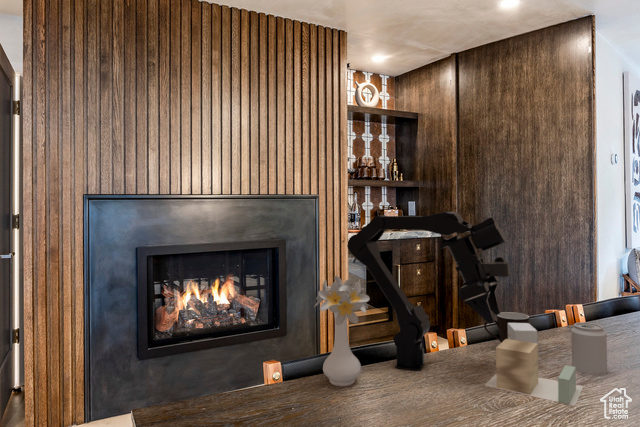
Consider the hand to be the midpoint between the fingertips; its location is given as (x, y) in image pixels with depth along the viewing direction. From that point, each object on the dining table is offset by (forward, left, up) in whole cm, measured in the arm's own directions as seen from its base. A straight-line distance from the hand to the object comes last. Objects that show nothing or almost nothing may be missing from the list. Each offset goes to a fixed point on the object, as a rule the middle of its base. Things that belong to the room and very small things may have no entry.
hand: (495, 318), depth 106 cm
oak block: (+4, -4, -14) cm, 15 cm away
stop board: (+14, -7, -14) cm, 21 cm away
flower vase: (-34, -12, -15) cm, 39 cm away
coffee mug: (+4, +26, -15) cm, 30 cm away
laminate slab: (+8, -4, -15) cm, 17 cm away
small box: (+7, +12, -15) cm, 20 cm away
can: (+22, +12, -15) cm, 29 cm away
